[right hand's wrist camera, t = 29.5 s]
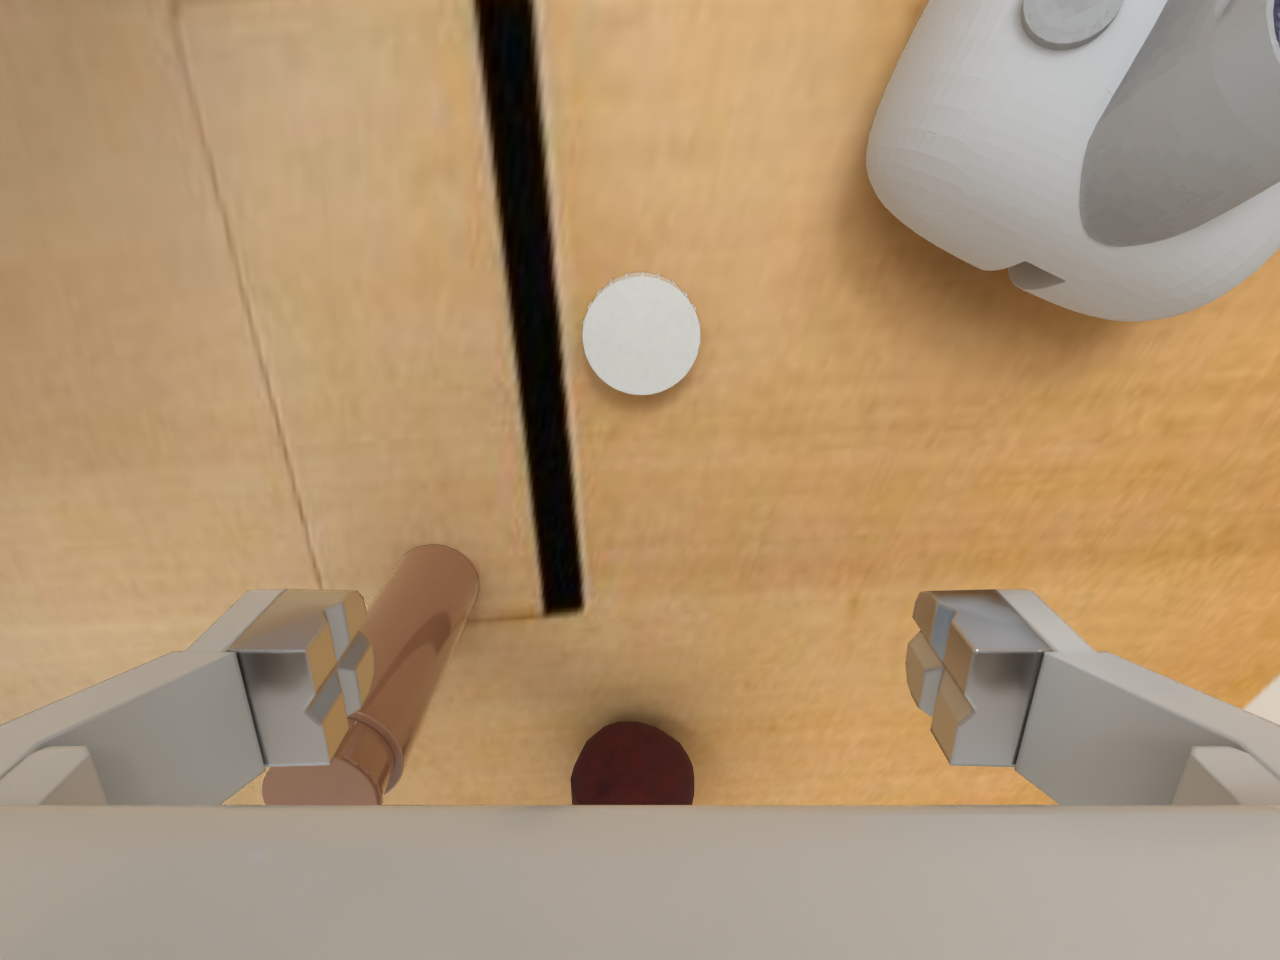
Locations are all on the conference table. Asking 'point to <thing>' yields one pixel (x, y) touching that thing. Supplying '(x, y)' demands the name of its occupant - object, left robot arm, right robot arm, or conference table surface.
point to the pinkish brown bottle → (391, 681)
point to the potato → (632, 768)
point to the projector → (1090, 146)
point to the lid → (641, 333)
